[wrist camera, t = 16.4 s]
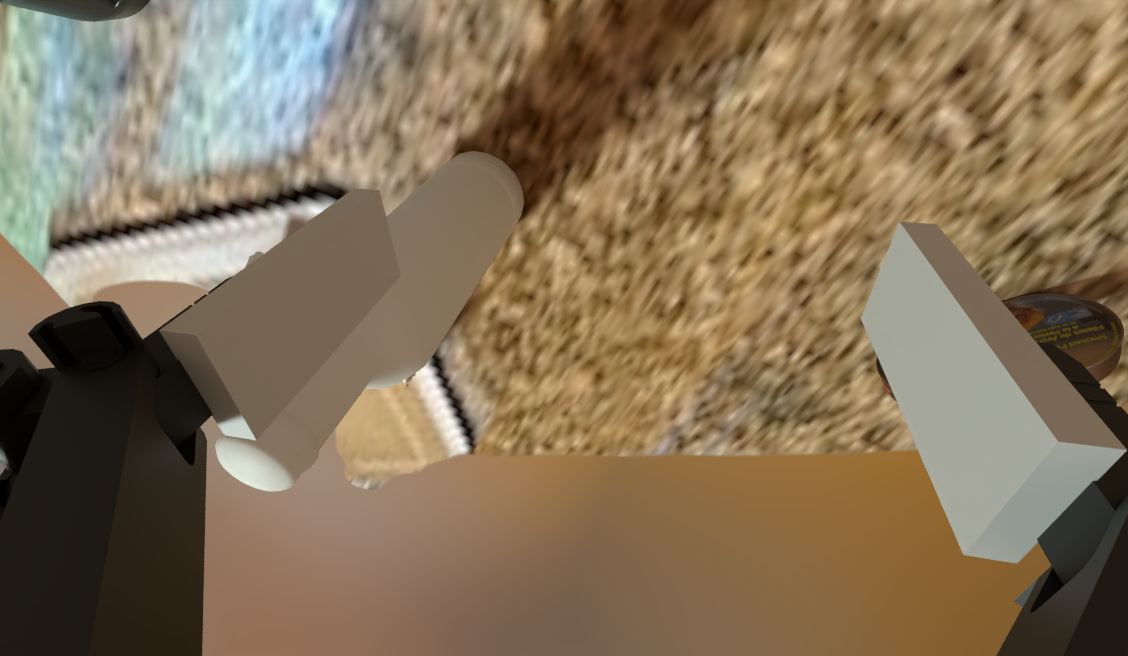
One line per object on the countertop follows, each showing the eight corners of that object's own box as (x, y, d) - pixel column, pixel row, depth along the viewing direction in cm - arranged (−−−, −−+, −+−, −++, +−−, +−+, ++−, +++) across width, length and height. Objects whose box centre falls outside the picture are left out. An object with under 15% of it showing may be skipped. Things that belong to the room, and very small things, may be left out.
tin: (1080, 279, 39) (1157, 347, 33) (1082, 310, 41) (1157, 381, 34) (863, 337, 46) (891, 403, 39) (872, 362, 47) (900, 430, 41)
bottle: (465, 129, 42) (173, 368, 19) (542, 188, 44) (365, 476, 20) (425, 199, 47) (152, 462, 23) (496, 251, 48) (309, 543, 25)
